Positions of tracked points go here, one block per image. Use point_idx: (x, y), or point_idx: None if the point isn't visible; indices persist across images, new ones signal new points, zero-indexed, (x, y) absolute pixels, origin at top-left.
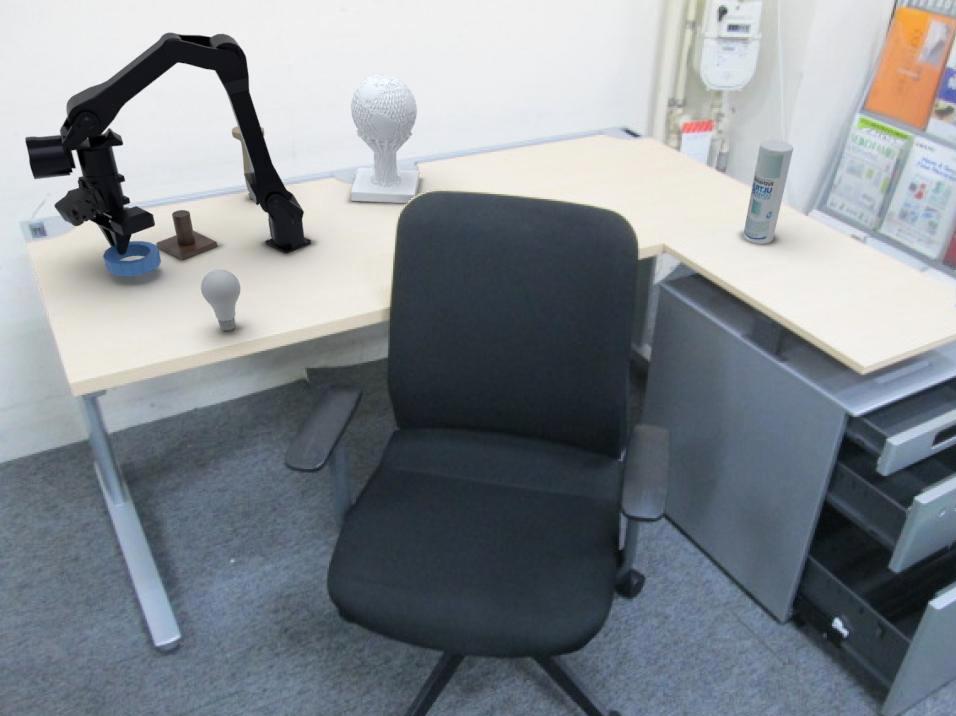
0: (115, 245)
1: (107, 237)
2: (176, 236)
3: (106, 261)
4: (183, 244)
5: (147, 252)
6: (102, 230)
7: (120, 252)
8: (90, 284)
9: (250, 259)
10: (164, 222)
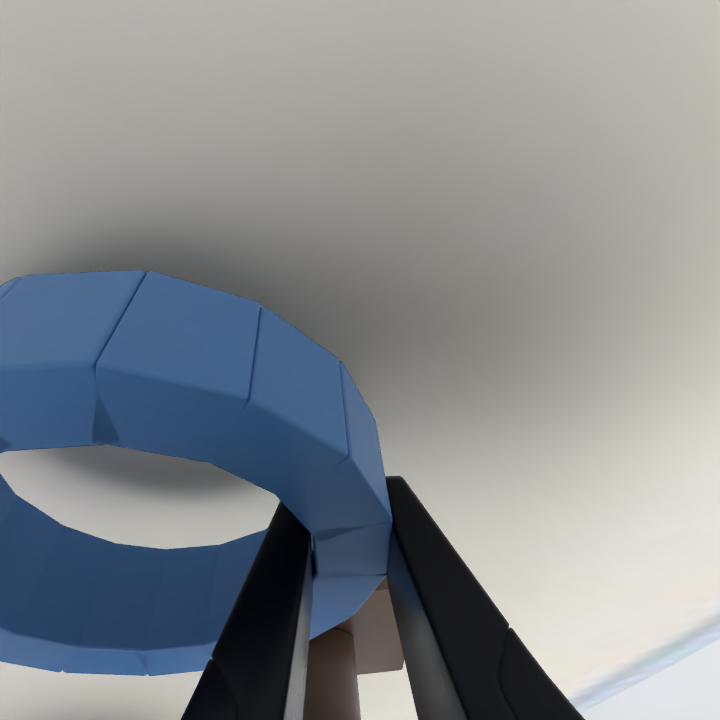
0: (378, 544)
1: (435, 620)
2: (335, 668)
3: (68, 351)
4: None
5: (193, 588)
6: (522, 713)
7: (278, 507)
8: (267, 46)
9: (36, 691)
10: (569, 624)
